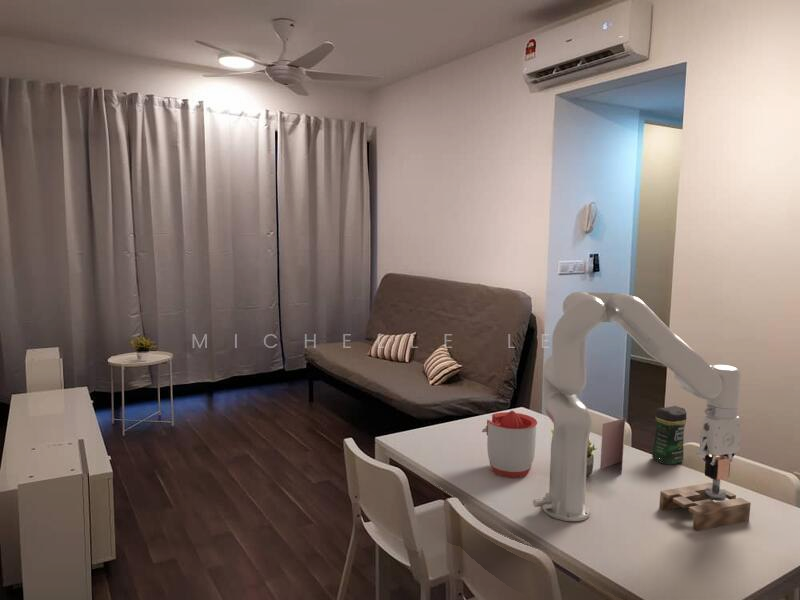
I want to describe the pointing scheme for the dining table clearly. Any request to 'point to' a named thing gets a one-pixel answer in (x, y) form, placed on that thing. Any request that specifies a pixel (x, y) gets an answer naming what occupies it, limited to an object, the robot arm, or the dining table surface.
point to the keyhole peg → (721, 473)
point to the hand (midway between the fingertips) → (716, 475)
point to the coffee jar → (669, 435)
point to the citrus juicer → (511, 443)
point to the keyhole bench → (706, 506)
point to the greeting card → (612, 443)
